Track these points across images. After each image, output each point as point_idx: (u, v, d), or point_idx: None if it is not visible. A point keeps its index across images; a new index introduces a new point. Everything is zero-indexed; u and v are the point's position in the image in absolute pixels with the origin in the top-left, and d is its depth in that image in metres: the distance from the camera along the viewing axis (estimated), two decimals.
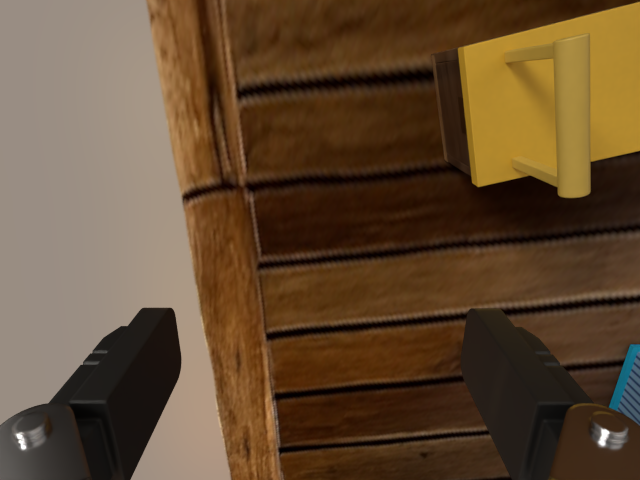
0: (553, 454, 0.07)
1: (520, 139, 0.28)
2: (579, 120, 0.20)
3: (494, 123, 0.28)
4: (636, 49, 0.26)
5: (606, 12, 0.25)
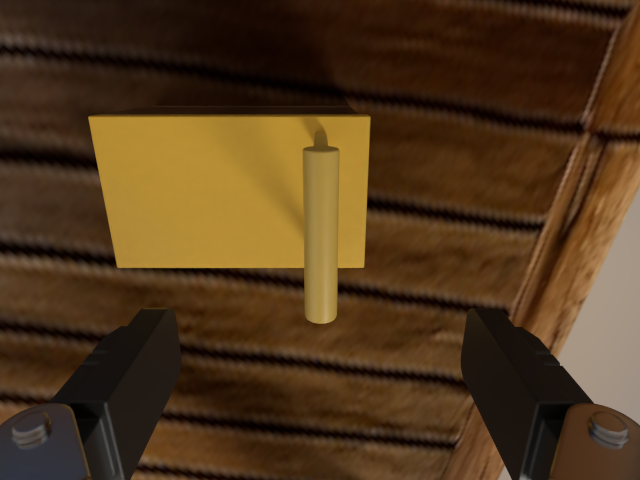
0: (553, 454, 0.07)
1: None
2: (322, 246, 0.18)
3: (342, 189, 0.25)
4: (193, 228, 0.25)
5: (227, 266, 0.26)
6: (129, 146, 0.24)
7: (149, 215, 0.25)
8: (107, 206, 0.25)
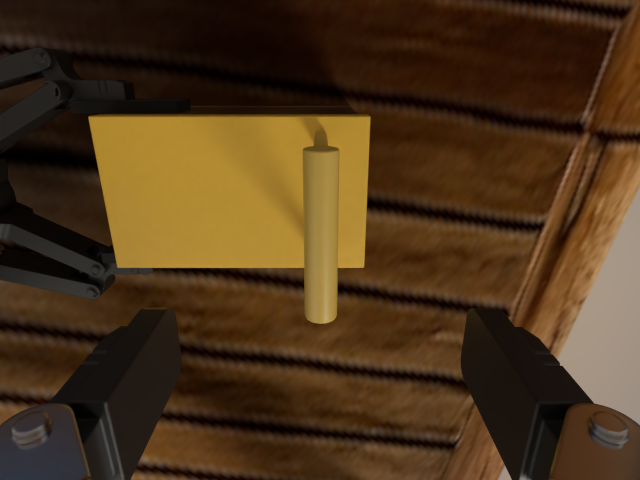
0: (553, 454, 0.07)
1: None
2: (322, 246, 0.18)
3: (342, 189, 0.25)
4: (193, 228, 0.25)
5: (227, 266, 0.26)
6: (129, 146, 0.24)
7: (149, 215, 0.25)
8: (107, 206, 0.25)
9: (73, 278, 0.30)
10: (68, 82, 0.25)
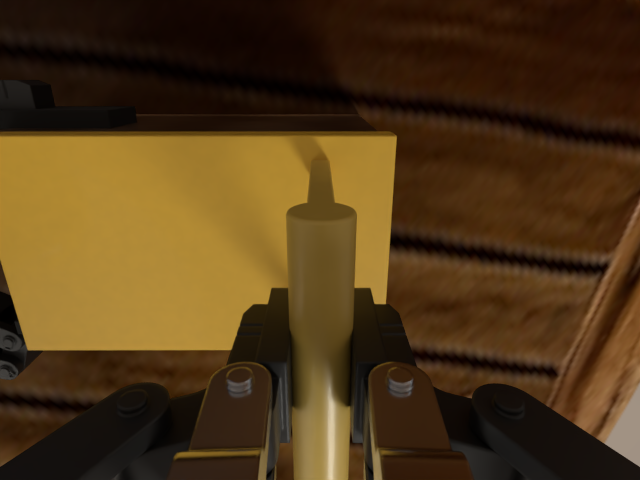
0: (365, 406, 0.08)
1: None
2: (324, 386, 0.10)
3: None
4: (134, 297, 0.17)
5: (185, 348, 0.18)
6: (30, 180, 0.16)
7: (68, 279, 0.17)
8: (5, 266, 0.17)
9: None
10: None
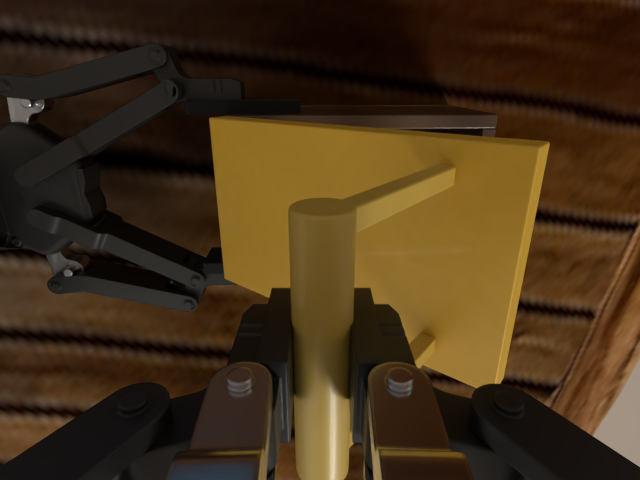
0: (365, 406, 0.08)
1: (431, 213, 0.15)
2: (305, 373, 0.10)
3: (472, 261, 0.15)
4: (285, 260, 0.21)
5: None
6: (237, 153, 0.21)
7: (249, 233, 0.22)
8: (219, 214, 0.23)
9: (169, 290, 0.28)
10: (181, 81, 0.23)
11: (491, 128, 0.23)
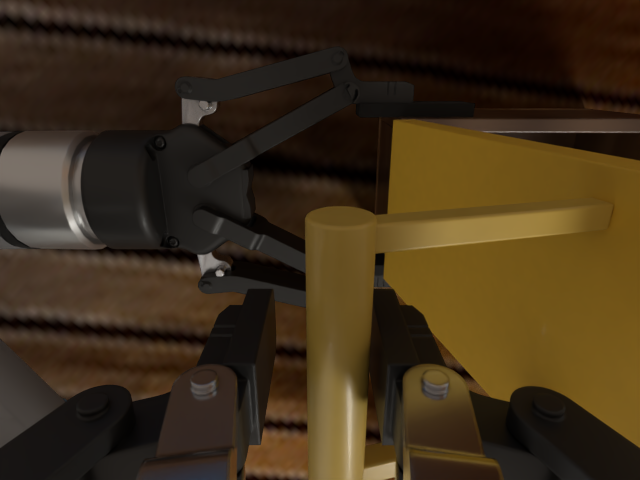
0: (398, 408, 0.08)
1: (575, 260, 0.11)
2: (309, 379, 0.10)
3: (616, 339, 0.10)
4: (428, 275, 0.20)
5: (443, 343, 0.19)
6: (407, 157, 0.21)
7: None
8: None
9: None
10: (356, 84, 0.24)
11: None
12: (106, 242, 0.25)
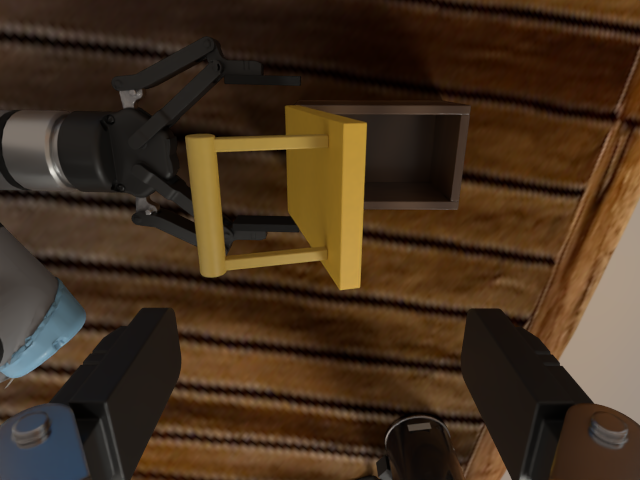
0: (553, 454, 0.07)
1: (325, 165, 0.24)
2: (193, 210, 0.23)
3: (333, 196, 0.23)
4: (299, 198, 0.32)
5: (305, 236, 0.32)
6: (290, 128, 0.33)
7: (292, 180, 0.34)
8: None
9: None
10: (221, 60, 0.36)
11: (466, 114, 0.36)
12: (74, 184, 0.38)
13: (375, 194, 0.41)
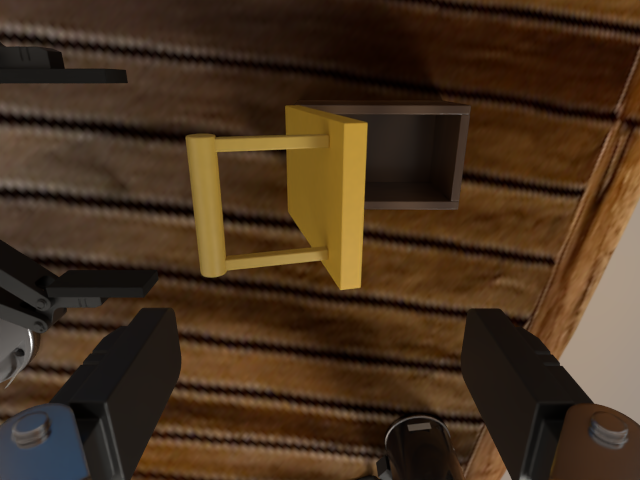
0: (553, 454, 0.07)
1: (325, 165, 0.24)
2: (194, 210, 0.23)
3: (333, 196, 0.23)
4: (299, 198, 0.32)
5: (305, 236, 0.32)
6: (290, 128, 0.33)
7: (292, 180, 0.34)
8: (287, 167, 0.36)
9: (22, 308, 0.29)
10: None
11: (467, 114, 0.36)
12: None
13: (375, 194, 0.41)
